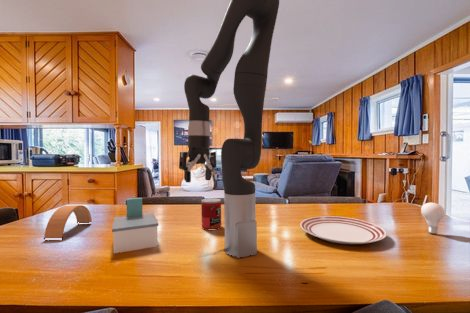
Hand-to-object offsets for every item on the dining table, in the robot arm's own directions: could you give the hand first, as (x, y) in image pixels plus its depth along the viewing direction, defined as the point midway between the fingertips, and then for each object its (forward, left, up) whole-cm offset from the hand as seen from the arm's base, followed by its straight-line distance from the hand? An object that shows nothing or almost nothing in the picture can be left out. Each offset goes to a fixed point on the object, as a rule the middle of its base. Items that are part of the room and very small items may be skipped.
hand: (198, 181), depth 82 cm
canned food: (+8, -8, -20) cm, 23 cm away
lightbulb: (-35, -75, -20) cm, 85 cm away
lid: (+2, +20, -14) cm, 25 cm away
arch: (+28, +42, -20) cm, 55 cm away
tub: (+2, +20, -20) cm, 28 cm away
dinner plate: (-21, -46, -20) cm, 54 cm away
